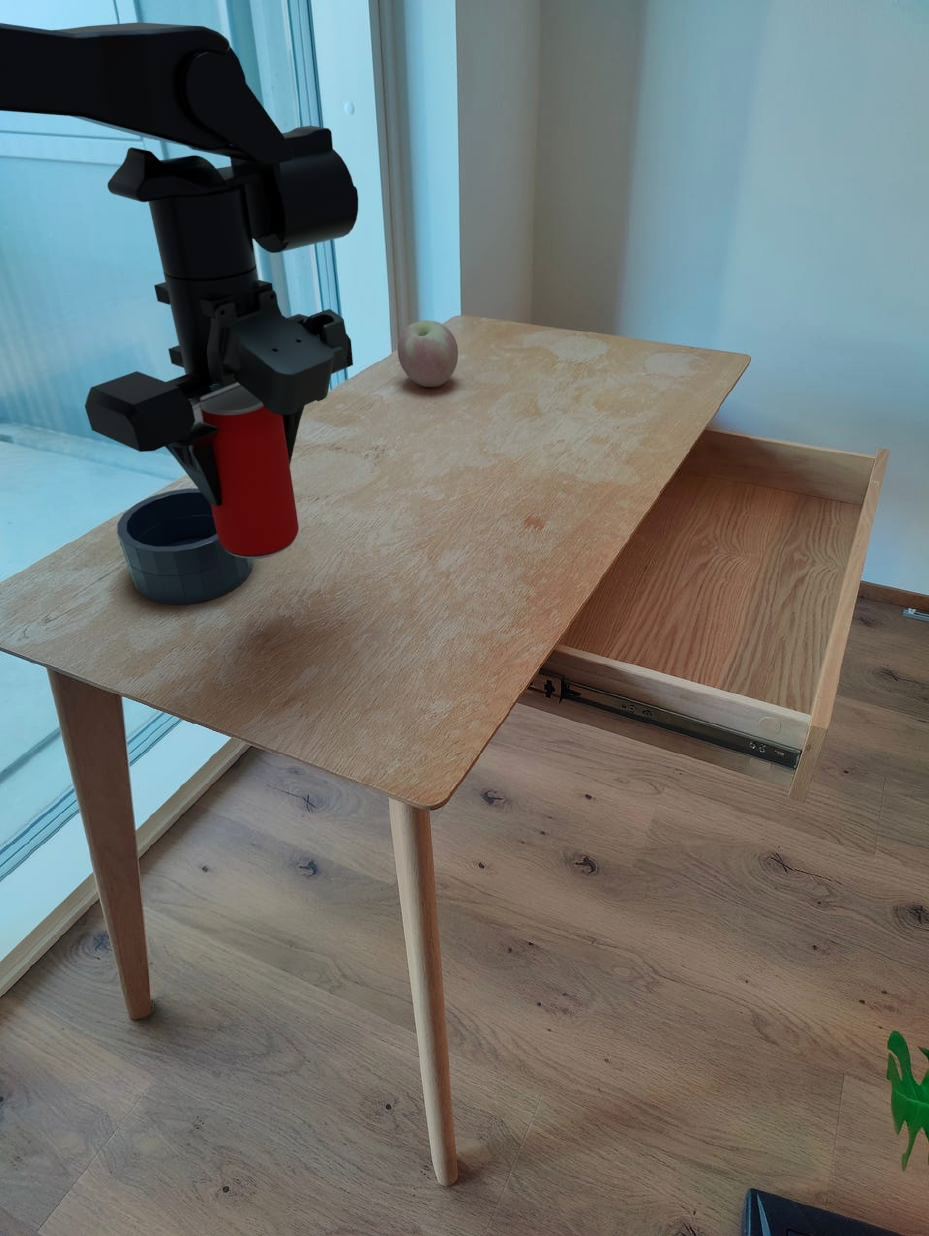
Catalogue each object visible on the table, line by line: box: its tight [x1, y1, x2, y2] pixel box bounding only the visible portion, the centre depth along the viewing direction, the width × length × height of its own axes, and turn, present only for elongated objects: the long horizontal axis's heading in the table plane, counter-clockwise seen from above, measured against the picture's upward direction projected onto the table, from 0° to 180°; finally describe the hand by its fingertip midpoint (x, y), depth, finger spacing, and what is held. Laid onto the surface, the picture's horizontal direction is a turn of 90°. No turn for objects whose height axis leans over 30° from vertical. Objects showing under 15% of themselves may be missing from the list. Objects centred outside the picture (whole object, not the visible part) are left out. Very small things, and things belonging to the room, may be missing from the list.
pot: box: [116, 487, 254, 605], centre depth 74 cm, size 11×11×6 cm
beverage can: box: [201, 386, 300, 560], centre depth 61 cm, size 6×6×12 cm
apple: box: [397, 319, 459, 388], centre depth 107 cm, size 8×8×8 cm
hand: (249, 487), depth 62 cm, fingers closed on beverage can, 6 cm apart
